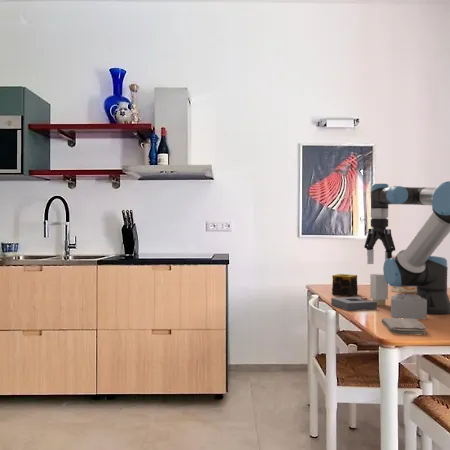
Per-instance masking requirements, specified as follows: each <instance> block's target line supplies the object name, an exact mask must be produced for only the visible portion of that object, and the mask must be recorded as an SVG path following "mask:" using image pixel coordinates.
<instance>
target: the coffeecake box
mask: <svg viewBox="0 0 450 450" xmlns="http://www.w3.org/2000/svg"><path fill="white" fill-rule="evenodd" d="M396 256H397V254H396V255H393V254H392V258H395V257H396ZM390 291H391V292H394V293H396V294H404V293H416V291H417V286H408V287H393V286H390Z"/></svg>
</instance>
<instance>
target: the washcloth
mask: <svg viewBox="0 0 450 450" xmlns="http://www.w3.org/2000/svg"><path fill="white" fill-rule="evenodd" d="M381 323H382V324H383V326H384V327H385V326H386V327H387V328H388V329H389V330H388V329H387V328H386V327H385V328H386V329H387V330H388V331H389V333H390V332H391V333H397V334H396V335H404V334H426V335H427V332H426V331H425V330H427V328H426V326H425V324H424V323H422V322H421V321H419V320H416V319H413V318H404V319H401V318H400V319H399V318H393V317H382V319H381ZM391 333H390V334H391Z"/></svg>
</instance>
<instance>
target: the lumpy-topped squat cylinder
mask: <svg viewBox="0 0 450 450" xmlns="http://www.w3.org/2000/svg"><path fill="white" fill-rule="evenodd" d="M390 316H391V317H390V318H393V317H394V318H397V319H399V318H403V319H404V318H413V319H419V320H425V319H424V318H426V319H427V318H428V313H427V300H426V299H424V298H421V297H420V296H419V295H416V294H410V293H409V292H405V293H395V294H394V295H391V297H390Z"/></svg>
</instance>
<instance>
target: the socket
mask: <svg viewBox="0 0 450 450" xmlns="http://www.w3.org/2000/svg"><path fill="white" fill-rule="evenodd" d="M330 301H331V302H330V303H331V305H332V306H335V307H336V308H340V309H343V310H346V311H360V310H361V311H362V309H366V310H377V309H378V306H377V302H375V301H373V299H372V300H371V299H368V297H366V296H362V297H361V296H341V297H340V296H339V297H331V299H330Z"/></svg>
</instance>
